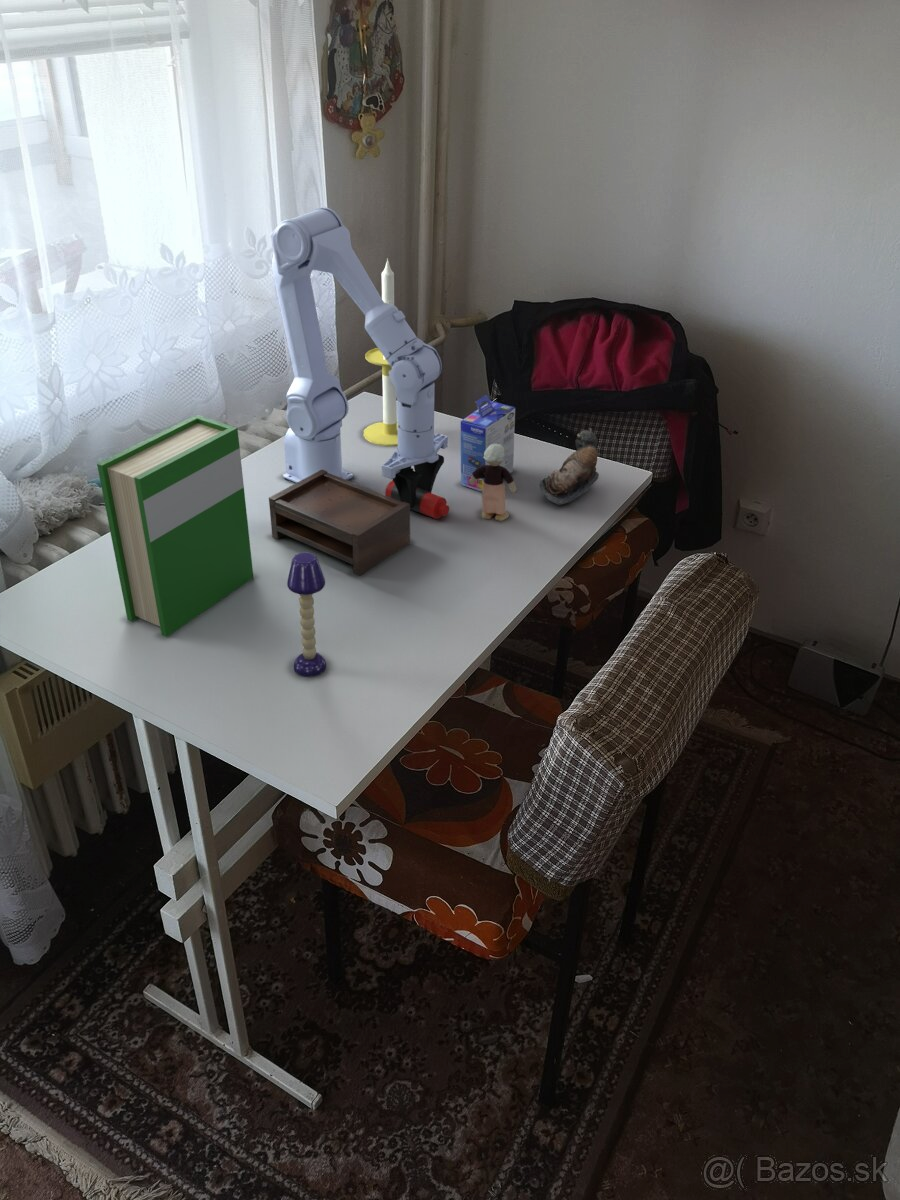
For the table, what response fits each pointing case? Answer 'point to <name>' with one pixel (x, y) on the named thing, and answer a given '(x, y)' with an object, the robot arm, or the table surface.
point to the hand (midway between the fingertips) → (415, 501)
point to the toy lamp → (307, 610)
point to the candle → (384, 380)
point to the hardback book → (178, 521)
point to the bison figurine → (574, 472)
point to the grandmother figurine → (494, 483)
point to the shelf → (341, 519)
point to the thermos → (422, 501)
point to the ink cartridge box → (486, 438)
